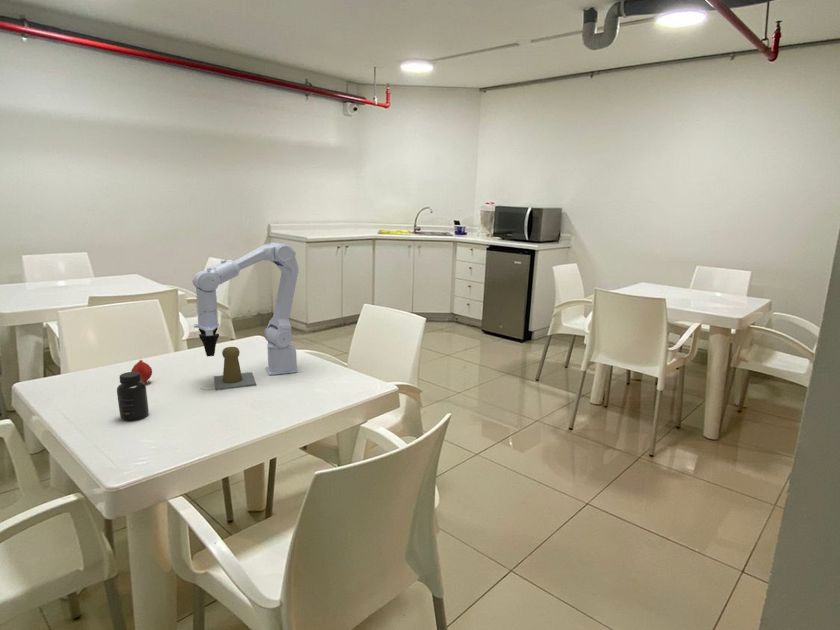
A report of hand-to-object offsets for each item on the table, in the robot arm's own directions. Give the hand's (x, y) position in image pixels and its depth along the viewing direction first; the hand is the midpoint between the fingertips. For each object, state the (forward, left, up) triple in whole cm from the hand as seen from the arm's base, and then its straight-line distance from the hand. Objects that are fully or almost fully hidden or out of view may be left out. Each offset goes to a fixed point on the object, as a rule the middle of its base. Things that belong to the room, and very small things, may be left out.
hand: (209, 352), depth 160 cm
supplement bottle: (+20, +19, -11) cm, 30 cm away
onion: (+20, -8, -11) cm, 24 cm away
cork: (-6, 0, -10) cm, 12 cm away
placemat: (-7, 0, -11) cm, 13 cm away
